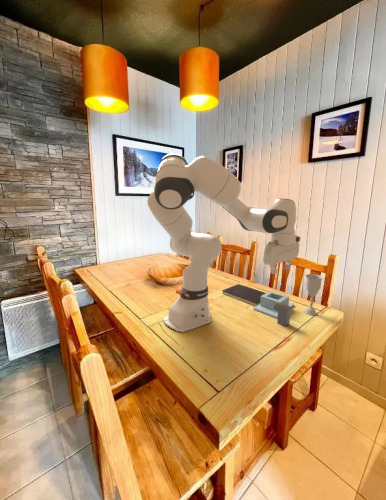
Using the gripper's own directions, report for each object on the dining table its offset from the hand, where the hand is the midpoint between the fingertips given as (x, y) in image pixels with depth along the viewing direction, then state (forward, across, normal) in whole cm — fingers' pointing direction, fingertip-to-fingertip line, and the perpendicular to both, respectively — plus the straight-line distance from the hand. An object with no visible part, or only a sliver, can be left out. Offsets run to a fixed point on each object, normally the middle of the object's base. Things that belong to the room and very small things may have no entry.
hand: (280, 271), depth 96 cm
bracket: (+23, -1, -4) cm, 23 cm away
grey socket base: (+23, +9, +8) cm, 26 cm away
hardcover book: (+24, +10, +26) cm, 36 cm away
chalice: (+23, +18, -6) cm, 30 cm away
